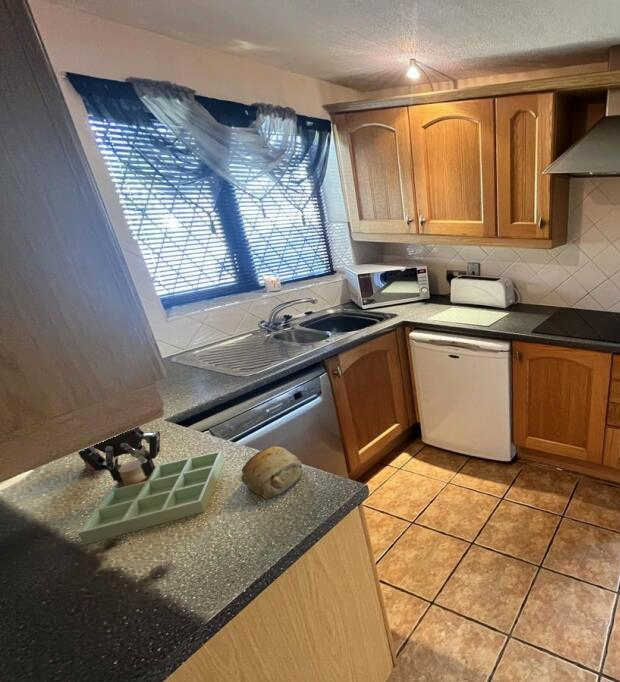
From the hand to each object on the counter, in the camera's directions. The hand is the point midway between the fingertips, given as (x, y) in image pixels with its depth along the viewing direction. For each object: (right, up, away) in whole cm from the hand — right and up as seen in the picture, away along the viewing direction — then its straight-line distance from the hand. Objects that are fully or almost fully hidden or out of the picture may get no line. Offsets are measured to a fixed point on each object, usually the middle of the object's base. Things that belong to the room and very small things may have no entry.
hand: (136, 476), depth 91 cm
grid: (+9, -4, -2) cm, 10 cm away
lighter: (-18, -1, +8) cm, 20 cm away
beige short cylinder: (0, 0, 0) cm, 0 cm away
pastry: (+31, -2, +3) cm, 31 cm away
